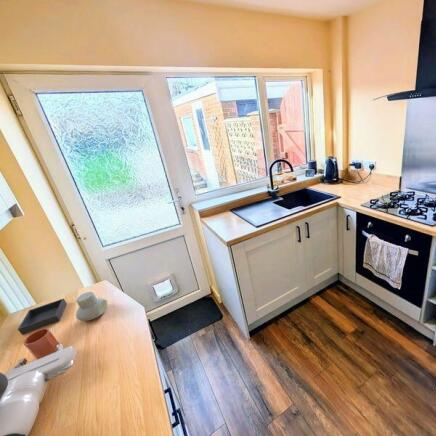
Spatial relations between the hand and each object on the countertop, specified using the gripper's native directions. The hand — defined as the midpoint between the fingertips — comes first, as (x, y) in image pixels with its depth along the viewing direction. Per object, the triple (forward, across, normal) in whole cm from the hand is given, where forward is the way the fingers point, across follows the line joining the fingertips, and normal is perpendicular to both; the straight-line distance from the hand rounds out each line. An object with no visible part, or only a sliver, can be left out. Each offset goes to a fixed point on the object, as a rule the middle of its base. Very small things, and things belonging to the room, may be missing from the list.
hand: (41, 352), depth 82 cm
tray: (+31, +9, +6) cm, 33 cm away
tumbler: (+3, 0, +6) cm, 6 cm away
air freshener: (+20, -10, +6) cm, 23 cm away
